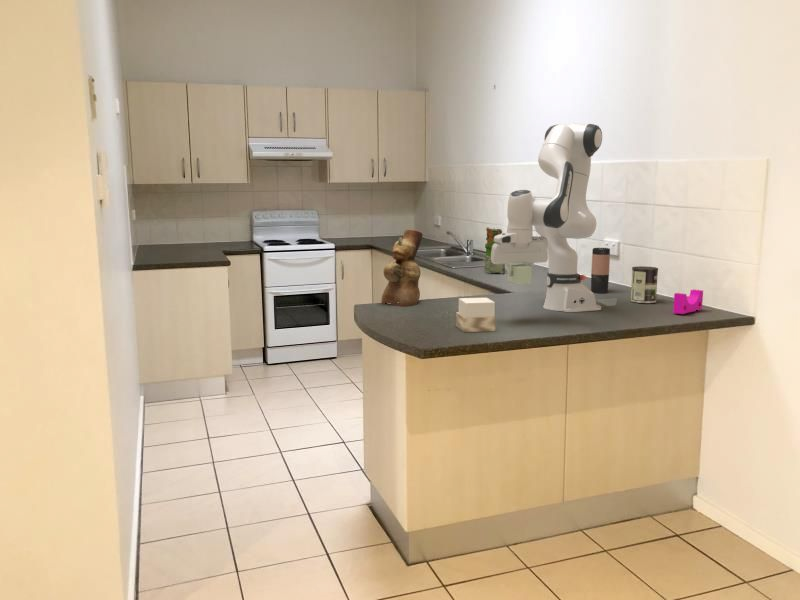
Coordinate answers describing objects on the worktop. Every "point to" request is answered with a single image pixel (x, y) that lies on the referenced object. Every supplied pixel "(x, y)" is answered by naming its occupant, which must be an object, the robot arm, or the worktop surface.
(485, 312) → the tower top
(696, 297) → the toy block
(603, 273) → the travel mug
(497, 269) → the pouch
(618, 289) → the worktop surface
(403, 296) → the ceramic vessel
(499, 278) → the worktop surface
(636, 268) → the coffee can
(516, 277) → the green bar
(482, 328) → the tower base
